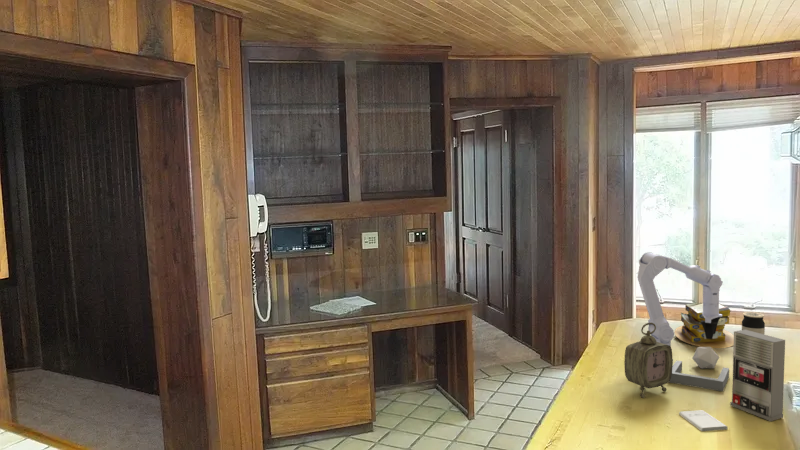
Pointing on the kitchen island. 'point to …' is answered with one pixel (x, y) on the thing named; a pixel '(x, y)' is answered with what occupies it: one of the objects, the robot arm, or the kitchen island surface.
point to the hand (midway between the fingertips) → (710, 336)
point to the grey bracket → (699, 378)
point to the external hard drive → (702, 420)
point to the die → (705, 357)
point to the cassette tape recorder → (758, 374)
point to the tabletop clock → (648, 362)
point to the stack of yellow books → (695, 331)
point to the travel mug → (753, 322)
